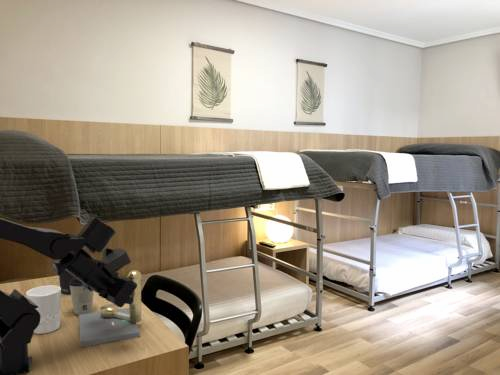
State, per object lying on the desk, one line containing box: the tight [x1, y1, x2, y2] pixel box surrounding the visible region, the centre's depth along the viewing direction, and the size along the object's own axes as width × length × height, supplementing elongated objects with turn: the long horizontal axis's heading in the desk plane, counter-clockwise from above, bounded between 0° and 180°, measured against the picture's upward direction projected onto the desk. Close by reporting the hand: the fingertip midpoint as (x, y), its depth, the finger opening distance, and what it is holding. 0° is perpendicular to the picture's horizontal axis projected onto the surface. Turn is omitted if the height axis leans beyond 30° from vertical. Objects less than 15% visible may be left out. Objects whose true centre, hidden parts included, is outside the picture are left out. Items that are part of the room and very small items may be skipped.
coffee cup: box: [68, 276, 95, 316], centre depth 118 cm, size 7×7×10 cm
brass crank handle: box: [100, 269, 143, 324], centre depth 110 cm, size 13×4×13 cm, turn 63°
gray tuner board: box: [78, 307, 141, 348], centre depth 108 cm, size 17×14×1 cm
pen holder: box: [58, 270, 74, 295], centre depth 136 cm, size 9×9×10 cm
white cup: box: [25, 284, 62, 335], centre depth 107 cm, size 8×8×10 cm
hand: (131, 302), depth 106 cm, fingers closed
